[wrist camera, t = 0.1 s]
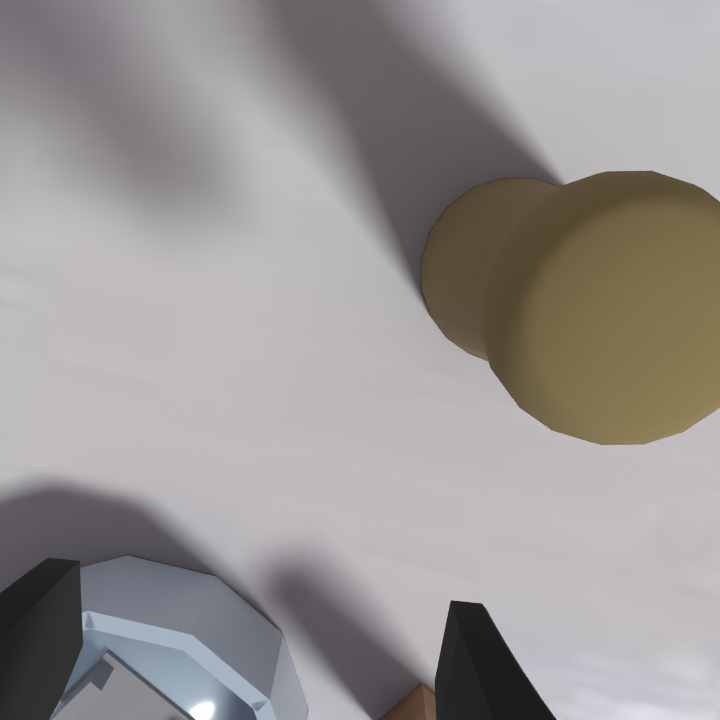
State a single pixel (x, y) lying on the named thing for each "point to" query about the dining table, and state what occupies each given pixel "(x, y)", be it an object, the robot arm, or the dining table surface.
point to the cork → (586, 299)
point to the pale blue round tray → (175, 650)
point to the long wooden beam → (415, 706)
